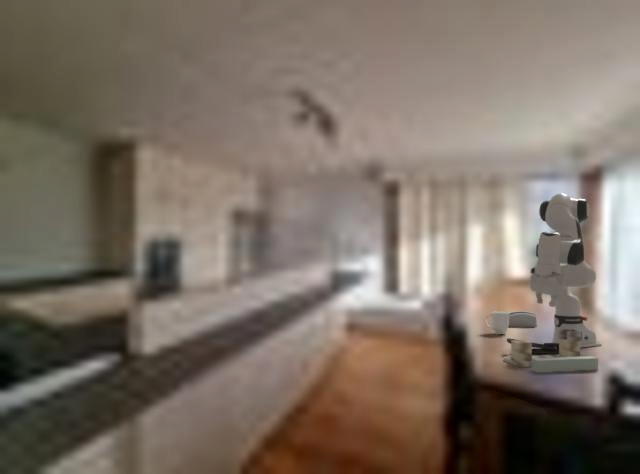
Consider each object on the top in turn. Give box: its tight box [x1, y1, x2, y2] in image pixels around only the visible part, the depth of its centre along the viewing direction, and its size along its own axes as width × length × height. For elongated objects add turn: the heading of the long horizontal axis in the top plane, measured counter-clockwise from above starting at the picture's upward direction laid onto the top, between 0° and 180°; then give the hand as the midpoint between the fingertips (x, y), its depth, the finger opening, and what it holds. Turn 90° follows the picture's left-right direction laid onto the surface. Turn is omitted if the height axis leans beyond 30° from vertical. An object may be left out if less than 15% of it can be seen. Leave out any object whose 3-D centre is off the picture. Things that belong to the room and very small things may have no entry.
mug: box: [485, 310, 510, 335], centre depth 306 cm, size 12×9×12 cm
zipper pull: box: [506, 337, 559, 356], centre depth 255 cm, size 9×7×25 cm
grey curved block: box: [508, 310, 538, 328], centre depth 330 cm, size 17×5×10 cm, turn 79°
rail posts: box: [503, 329, 582, 368], centre depth 241 cm, size 32×12×13 cm, turn 99°
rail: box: [531, 355, 599, 373], centre depth 227 cm, size 26×4×5 cm, turn 98°
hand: (545, 304), depth 233 cm, fingers open, 8 cm apart
